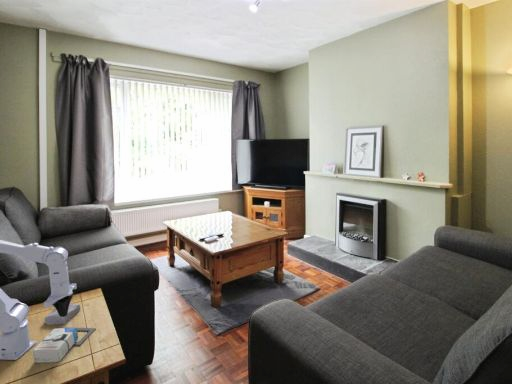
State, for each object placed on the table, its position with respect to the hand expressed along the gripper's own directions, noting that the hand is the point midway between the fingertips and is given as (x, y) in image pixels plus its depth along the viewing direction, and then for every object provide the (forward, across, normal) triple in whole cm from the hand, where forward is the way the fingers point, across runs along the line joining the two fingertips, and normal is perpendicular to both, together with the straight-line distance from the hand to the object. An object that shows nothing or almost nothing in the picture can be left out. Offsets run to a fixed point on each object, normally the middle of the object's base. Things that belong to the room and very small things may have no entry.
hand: (63, 315), depth 111 cm
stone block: (+11, +16, +13) cm, 23 cm away
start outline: (+10, +2, 0) cm, 11 cm away
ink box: (+7, 0, 0) cm, 7 cm away
